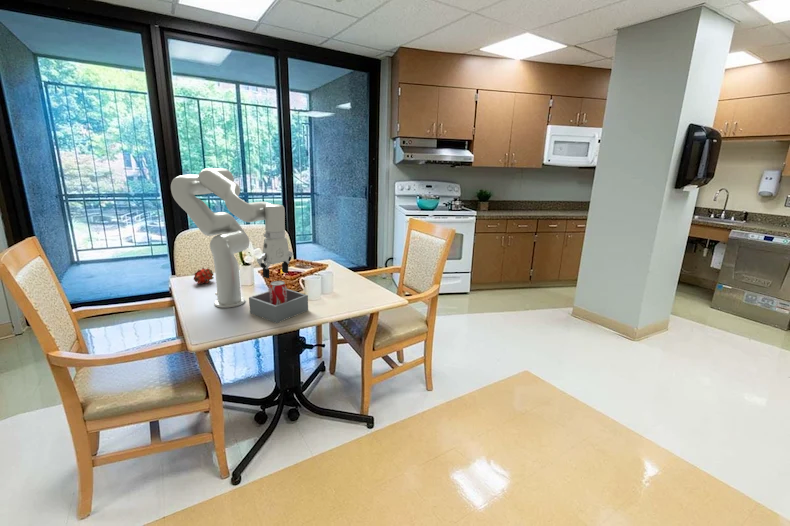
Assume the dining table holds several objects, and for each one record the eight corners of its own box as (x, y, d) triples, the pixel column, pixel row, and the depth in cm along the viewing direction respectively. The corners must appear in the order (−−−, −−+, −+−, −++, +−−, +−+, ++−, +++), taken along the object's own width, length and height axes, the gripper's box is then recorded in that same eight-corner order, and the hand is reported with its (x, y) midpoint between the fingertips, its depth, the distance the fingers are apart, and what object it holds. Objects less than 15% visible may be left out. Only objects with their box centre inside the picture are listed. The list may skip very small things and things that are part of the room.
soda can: (282, 313, 153) (281, 286, 149) (267, 311, 154) (265, 284, 151) (290, 307, 159) (289, 281, 156) (275, 305, 161) (274, 279, 158)
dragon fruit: (214, 282, 196) (198, 292, 185) (201, 272, 195) (185, 282, 185) (220, 271, 192) (204, 281, 181) (207, 261, 192) (190, 270, 181)
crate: (250, 312, 154) (248, 297, 153) (282, 301, 168) (281, 287, 166) (276, 323, 145) (275, 306, 144) (308, 310, 159) (307, 295, 157)
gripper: (263, 239, 139) (264, 281, 144) (298, 233, 153) (298, 272, 158) (250, 236, 143) (252, 277, 148) (285, 230, 157) (286, 268, 162)
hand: (276, 274), depth 153 cm, fingers open, 9 cm apart
